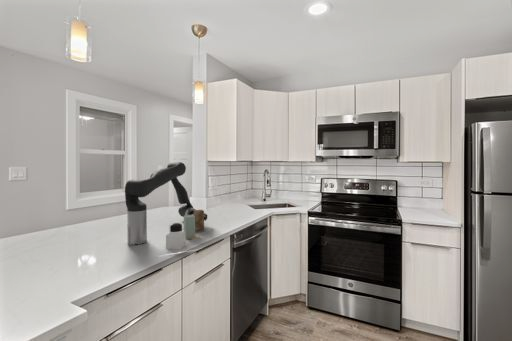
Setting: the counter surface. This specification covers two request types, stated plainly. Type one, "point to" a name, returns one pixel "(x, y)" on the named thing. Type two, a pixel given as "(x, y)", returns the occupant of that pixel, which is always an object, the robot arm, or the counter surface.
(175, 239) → the medicine bottle
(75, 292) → the counter surface
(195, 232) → the slate tile
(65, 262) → the counter surface
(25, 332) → the counter surface
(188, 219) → the sage block
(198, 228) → the walnut block
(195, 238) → the oak tile
